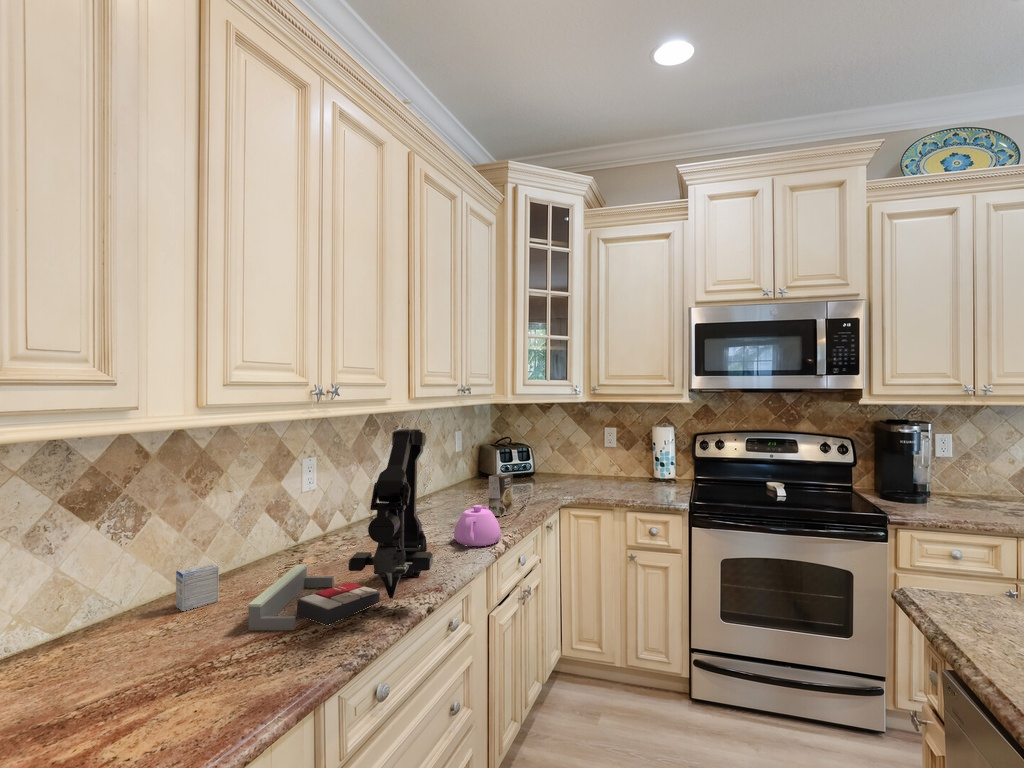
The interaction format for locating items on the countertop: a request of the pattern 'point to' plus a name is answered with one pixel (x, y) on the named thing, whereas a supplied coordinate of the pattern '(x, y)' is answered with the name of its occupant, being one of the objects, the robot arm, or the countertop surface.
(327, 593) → the calculator
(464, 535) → the teapot
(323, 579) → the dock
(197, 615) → the countertop surface
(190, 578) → the medicine box
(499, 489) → the coffee box
